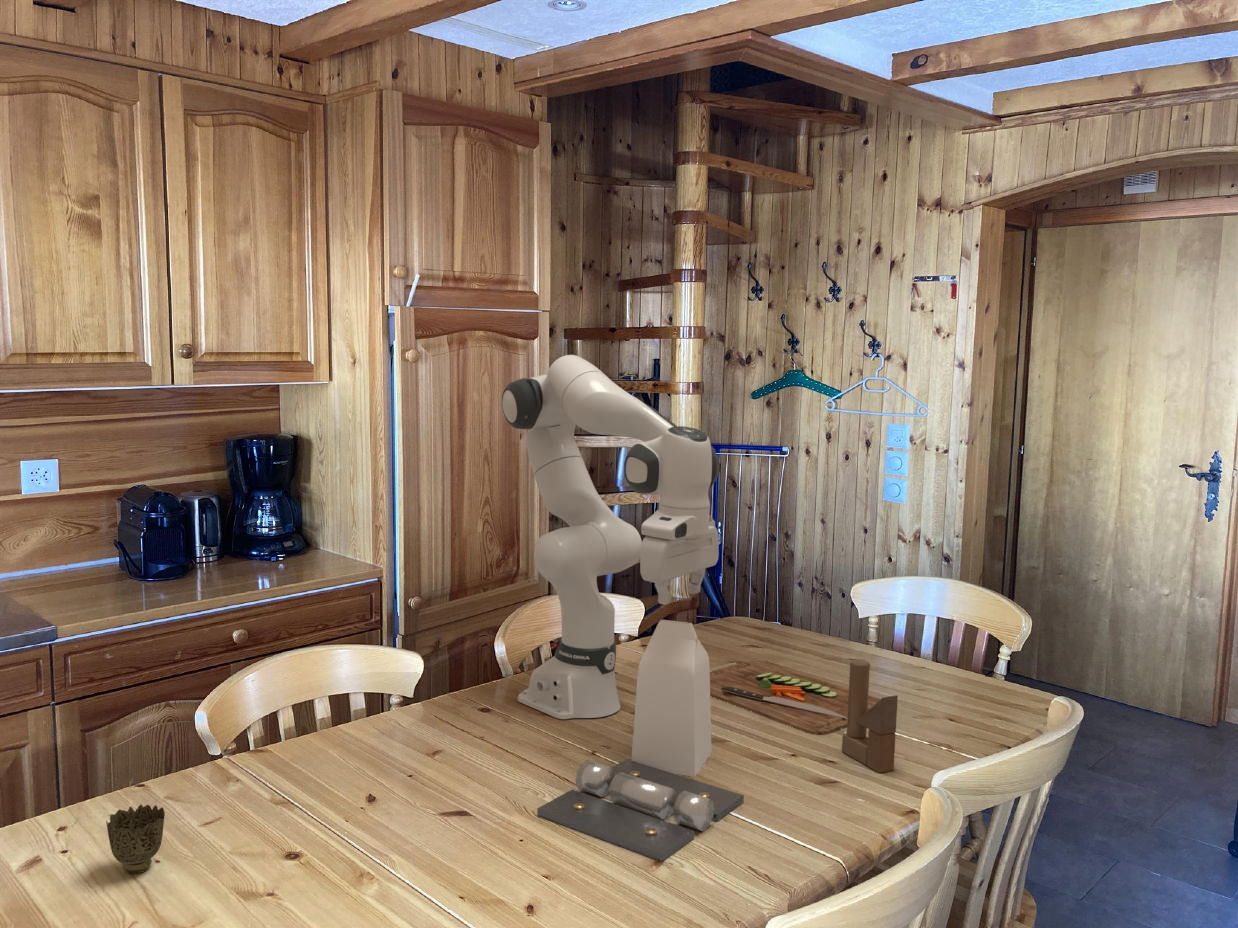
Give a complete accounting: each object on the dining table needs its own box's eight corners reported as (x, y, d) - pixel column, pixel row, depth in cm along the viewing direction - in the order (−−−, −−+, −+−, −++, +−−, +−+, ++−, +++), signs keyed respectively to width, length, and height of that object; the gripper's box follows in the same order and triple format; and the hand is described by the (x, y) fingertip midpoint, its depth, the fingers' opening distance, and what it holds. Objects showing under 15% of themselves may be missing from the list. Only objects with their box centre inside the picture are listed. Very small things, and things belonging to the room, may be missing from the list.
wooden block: (878, 773, 179) (883, 676, 177) (840, 752, 188) (845, 659, 187) (894, 770, 180) (899, 674, 178) (856, 749, 190) (860, 657, 188)
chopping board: (907, 714, 211) (908, 700, 211) (829, 744, 194) (830, 728, 193) (749, 661, 245) (750, 649, 245) (670, 683, 228) (671, 670, 227)
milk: (631, 766, 180) (634, 626, 177) (650, 743, 191) (654, 611, 188) (694, 776, 176) (699, 633, 173) (711, 753, 187) (715, 618, 184)
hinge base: (537, 815, 160) (537, 785, 159) (626, 765, 180) (627, 738, 180) (662, 861, 146) (663, 829, 145) (743, 801, 166) (744, 773, 166)
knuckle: (609, 807, 164) (608, 780, 163) (627, 793, 168) (625, 766, 167) (660, 825, 158) (659, 797, 157) (677, 810, 162) (675, 782, 161)
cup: (121, 856, 144) (119, 803, 143) (173, 855, 145) (172, 802, 144) (99, 883, 137) (96, 828, 136) (154, 882, 138) (152, 827, 137)
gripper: (699, 511, 183) (695, 584, 185) (635, 525, 166) (631, 605, 168) (729, 516, 179) (725, 590, 181) (666, 531, 163) (662, 613, 165)
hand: (679, 598), depth 174 cm, fingers open, 8 cm apart
